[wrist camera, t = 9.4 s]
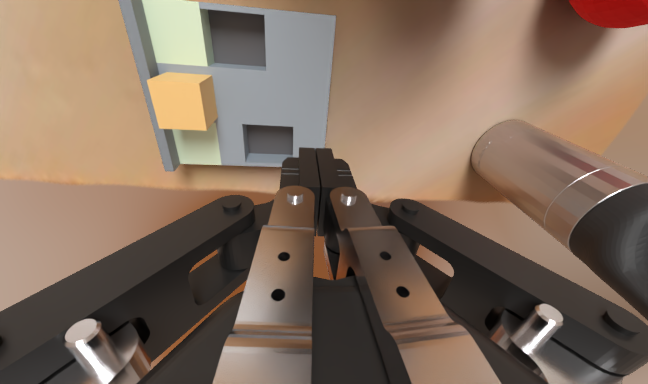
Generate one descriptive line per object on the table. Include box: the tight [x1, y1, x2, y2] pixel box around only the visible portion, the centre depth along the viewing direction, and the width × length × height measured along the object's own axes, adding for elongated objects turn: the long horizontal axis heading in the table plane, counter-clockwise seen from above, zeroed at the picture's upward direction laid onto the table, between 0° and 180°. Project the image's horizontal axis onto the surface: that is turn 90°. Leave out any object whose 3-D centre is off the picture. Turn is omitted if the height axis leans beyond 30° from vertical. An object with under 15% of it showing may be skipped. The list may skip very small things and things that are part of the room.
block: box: [147, 72, 218, 131], centre depth 27 cm, size 4×4×4 cm
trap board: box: [118, 0, 336, 171], centre depth 30 cm, size 19×17×5 cm
